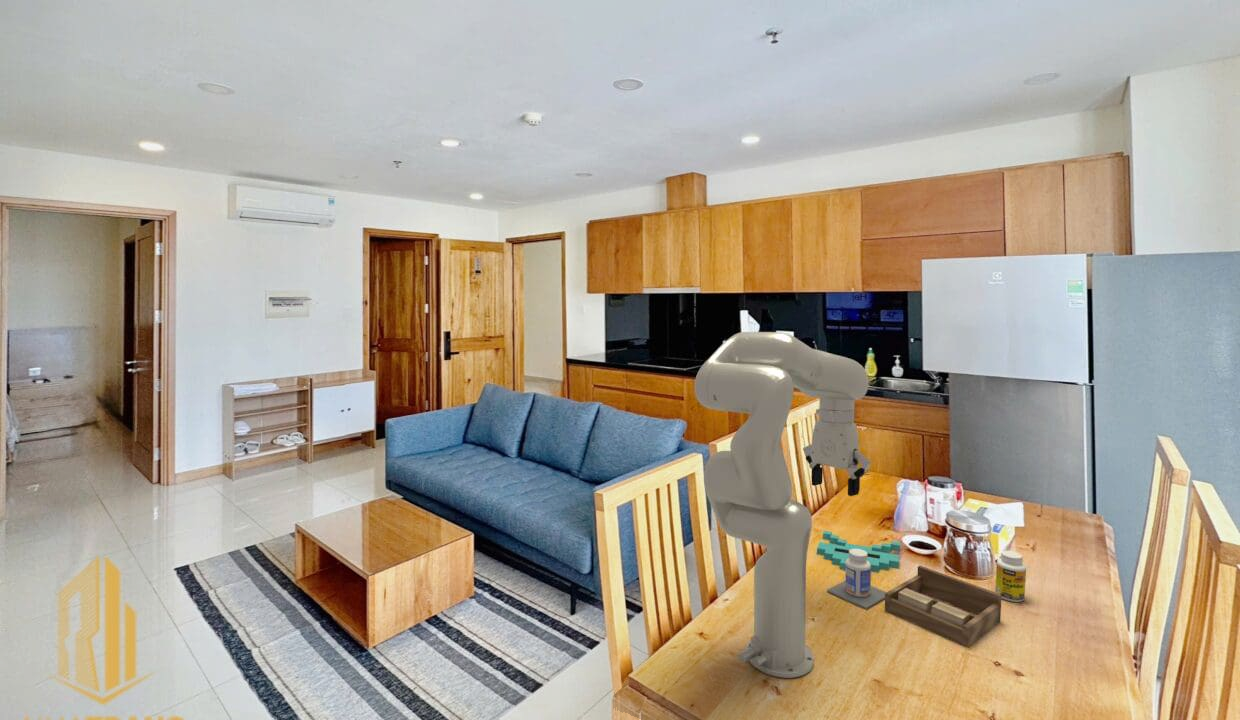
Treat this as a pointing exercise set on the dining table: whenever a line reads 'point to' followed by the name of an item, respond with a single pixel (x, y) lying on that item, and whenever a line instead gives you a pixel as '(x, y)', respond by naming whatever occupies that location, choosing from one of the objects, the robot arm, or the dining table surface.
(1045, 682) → the dining table surface
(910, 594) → the offcut
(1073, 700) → the dining table surface
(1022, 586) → the supplement bottle
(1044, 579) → the dining table surface
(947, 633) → the walnut rack
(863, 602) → the rubber coaster
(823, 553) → the alien figure
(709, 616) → the dining table surface
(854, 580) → the pill bottle
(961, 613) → the offcut
